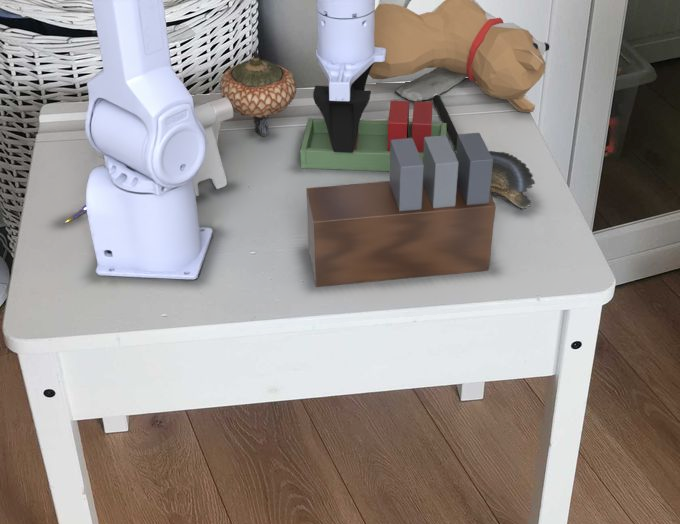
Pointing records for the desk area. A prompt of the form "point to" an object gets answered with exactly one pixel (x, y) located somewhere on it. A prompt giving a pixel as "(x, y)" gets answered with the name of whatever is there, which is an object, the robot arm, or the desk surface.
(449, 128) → the pen
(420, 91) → the stone tool
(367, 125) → the green book tray
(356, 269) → the wood grain box
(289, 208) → the desk surface
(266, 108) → the acorn
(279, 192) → the desk surface
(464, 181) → the grey books
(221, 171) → the tablet stand
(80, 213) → the pen
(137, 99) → the robot arm
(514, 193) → the eagle figurine
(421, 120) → the rack books
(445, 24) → the toy
